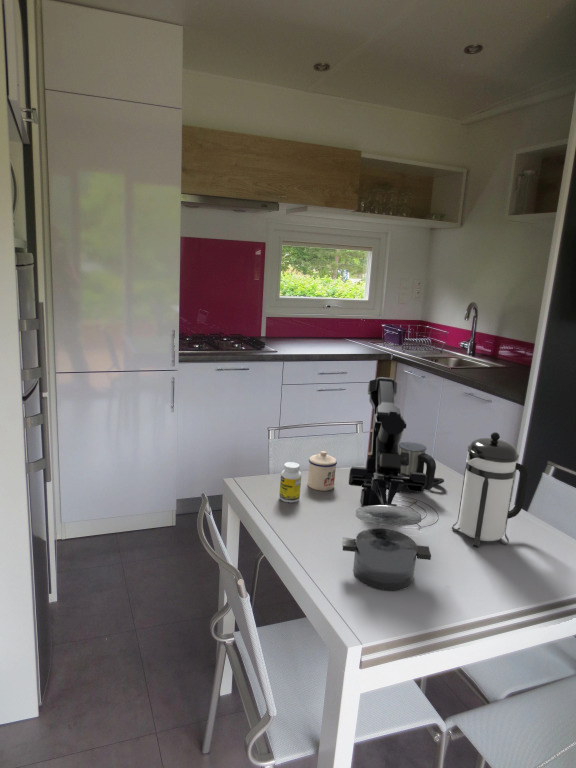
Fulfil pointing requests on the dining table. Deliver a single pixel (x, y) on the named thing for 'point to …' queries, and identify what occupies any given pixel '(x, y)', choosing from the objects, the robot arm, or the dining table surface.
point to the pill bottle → (290, 482)
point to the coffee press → (490, 489)
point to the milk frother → (418, 464)
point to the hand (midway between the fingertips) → (386, 511)
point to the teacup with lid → (321, 471)
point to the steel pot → (385, 558)
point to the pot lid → (388, 515)
